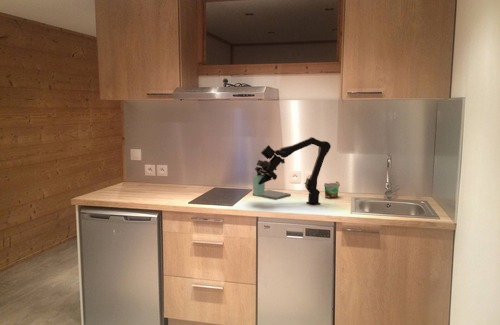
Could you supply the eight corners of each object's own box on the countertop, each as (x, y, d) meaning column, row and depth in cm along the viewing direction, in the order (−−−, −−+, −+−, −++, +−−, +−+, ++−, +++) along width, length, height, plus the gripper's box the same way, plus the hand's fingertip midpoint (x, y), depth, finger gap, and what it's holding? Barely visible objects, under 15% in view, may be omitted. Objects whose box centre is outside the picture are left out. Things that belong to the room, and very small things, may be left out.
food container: (330, 199, 245) (331, 184, 244) (323, 198, 250) (324, 183, 249) (343, 197, 252) (343, 182, 251) (336, 195, 257) (336, 181, 256)
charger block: (264, 194, 226) (264, 176, 225) (257, 195, 224) (257, 177, 223) (260, 193, 231) (260, 175, 229) (253, 193, 229) (253, 175, 227)
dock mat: (290, 195, 256) (290, 193, 255) (275, 199, 244) (275, 197, 244) (267, 191, 269) (267, 189, 269) (252, 195, 257) (252, 192, 257)
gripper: (257, 153, 235) (241, 172, 231) (272, 156, 218) (255, 177, 215) (268, 165, 239) (252, 184, 236) (284, 169, 223) (267, 189, 219)
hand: (256, 183), depth 226 cm, fingers closed on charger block, 5 cm apart
